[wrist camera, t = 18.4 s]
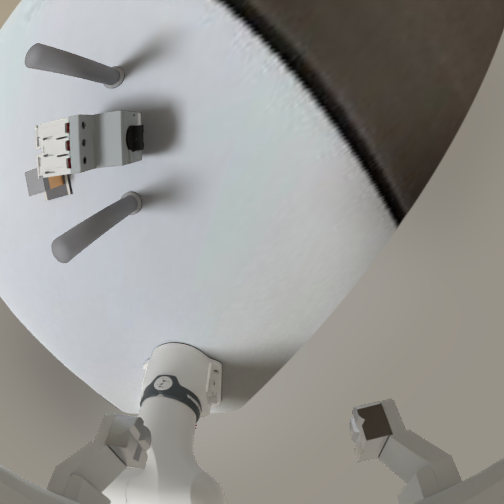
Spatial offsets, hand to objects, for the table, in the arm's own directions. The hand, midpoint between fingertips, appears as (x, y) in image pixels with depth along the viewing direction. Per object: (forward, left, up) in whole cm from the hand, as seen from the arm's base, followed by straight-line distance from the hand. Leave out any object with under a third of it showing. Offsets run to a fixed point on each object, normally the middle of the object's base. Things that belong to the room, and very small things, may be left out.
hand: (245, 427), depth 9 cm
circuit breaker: (+13, +21, -41) cm, 48 cm away
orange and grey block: (+10, +37, -41) cm, 56 cm away
